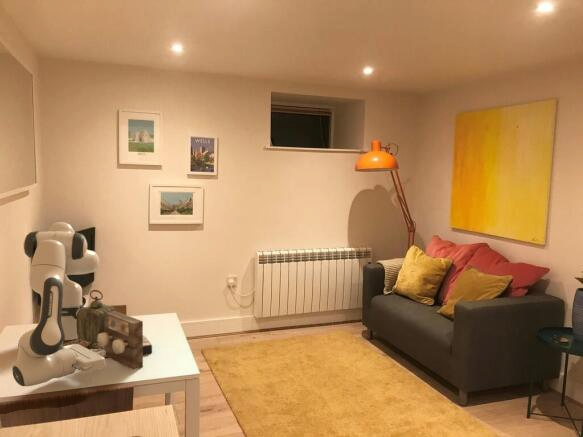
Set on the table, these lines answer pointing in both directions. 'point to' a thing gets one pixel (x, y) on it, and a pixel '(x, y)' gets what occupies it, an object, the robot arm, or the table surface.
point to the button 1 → (103, 339)
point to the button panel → (125, 339)
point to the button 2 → (119, 346)
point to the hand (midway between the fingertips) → (103, 351)
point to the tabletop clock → (92, 320)
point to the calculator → (146, 346)
